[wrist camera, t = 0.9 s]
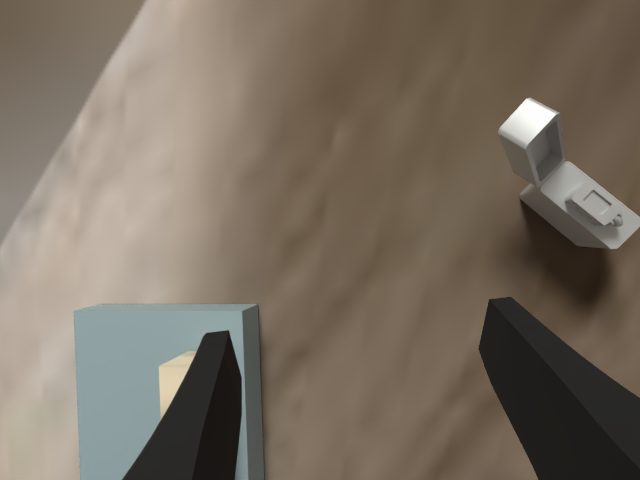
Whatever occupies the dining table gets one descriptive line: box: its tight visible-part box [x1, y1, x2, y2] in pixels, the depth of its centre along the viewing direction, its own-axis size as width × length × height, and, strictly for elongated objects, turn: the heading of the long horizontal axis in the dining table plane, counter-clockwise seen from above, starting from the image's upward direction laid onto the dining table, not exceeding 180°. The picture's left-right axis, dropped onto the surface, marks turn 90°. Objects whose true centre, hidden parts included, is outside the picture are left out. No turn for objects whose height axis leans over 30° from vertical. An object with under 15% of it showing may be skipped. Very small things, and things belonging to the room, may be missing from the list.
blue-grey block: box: [74, 304, 264, 480], centre depth 26 cm, size 13×11×6 cm
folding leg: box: [159, 351, 197, 419], centre depth 24 cm, size 9×2×3 cm, turn 2°
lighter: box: [498, 98, 640, 249], centre depth 20 cm, size 7×2×8 cm, turn 48°
